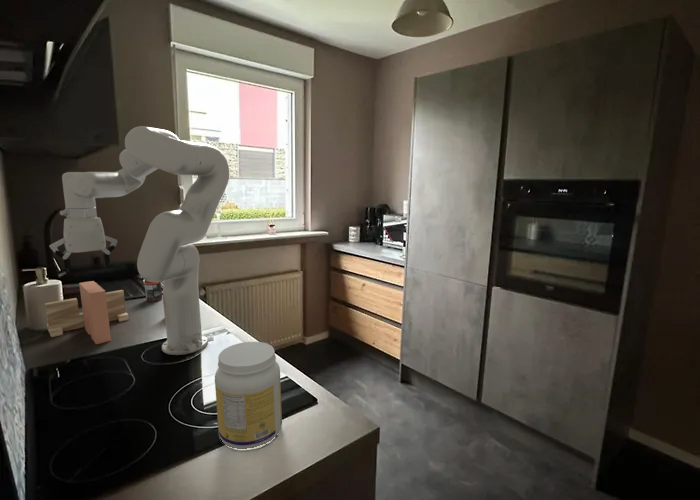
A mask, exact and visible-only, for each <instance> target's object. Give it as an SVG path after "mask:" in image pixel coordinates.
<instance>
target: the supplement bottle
mask: <svg viewBox="0 0 700 500" xmlns="http://www.w3.org/2000/svg"><path fill="white" fill-rule="evenodd" d="M143 281H144V291H145V299H146V301H147V302H151V303H153V302H158V301H161V300H163V289H162V281H161V282H149V281H146V280H145V279H143Z"/></svg>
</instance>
